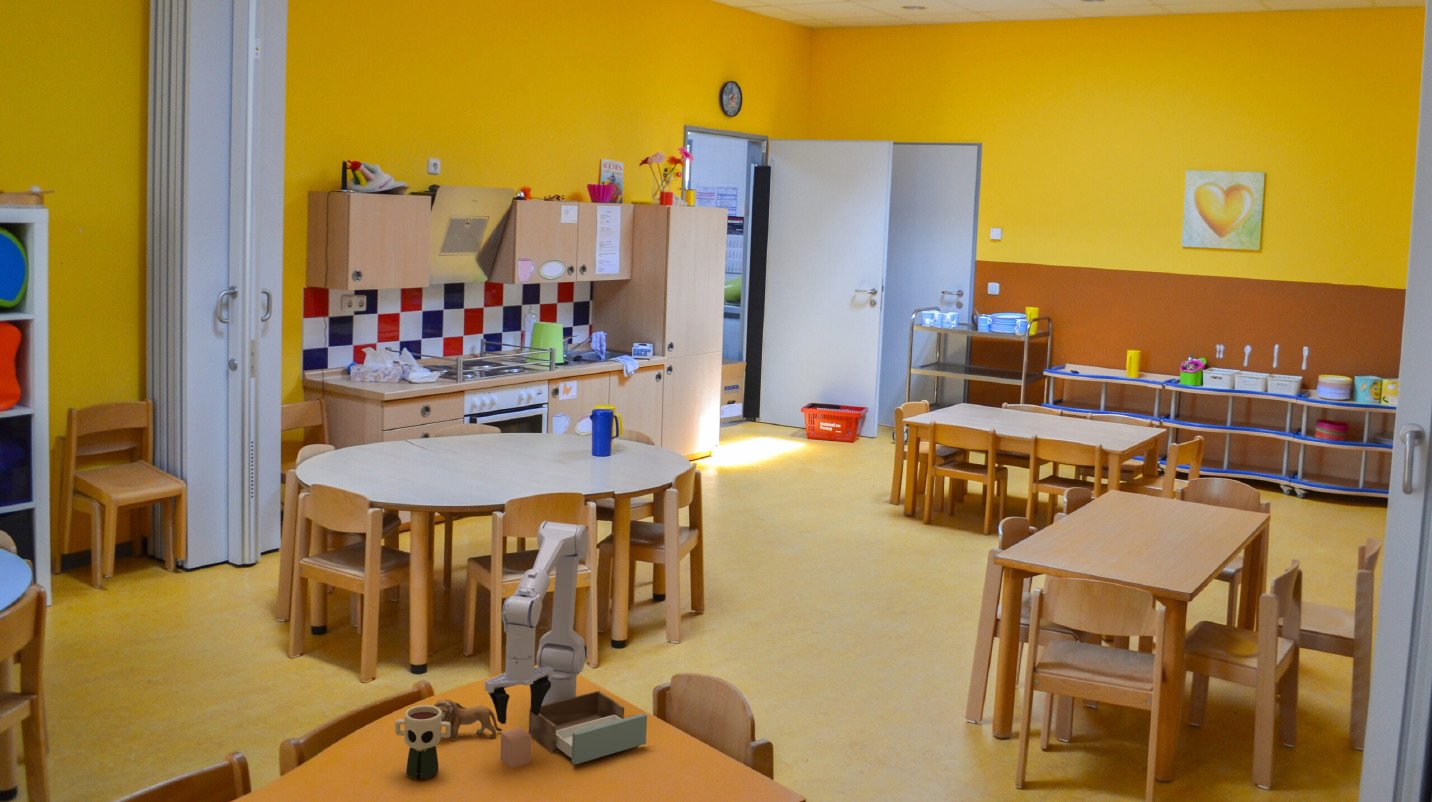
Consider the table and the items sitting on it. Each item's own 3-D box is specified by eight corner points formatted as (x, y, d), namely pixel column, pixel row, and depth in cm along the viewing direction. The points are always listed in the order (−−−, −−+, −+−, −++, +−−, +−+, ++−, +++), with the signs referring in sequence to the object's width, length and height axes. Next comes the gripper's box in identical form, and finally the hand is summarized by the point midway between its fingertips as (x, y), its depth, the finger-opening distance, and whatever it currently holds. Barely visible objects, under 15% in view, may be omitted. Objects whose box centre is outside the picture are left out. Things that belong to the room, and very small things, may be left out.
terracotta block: (500, 759, 241) (501, 732, 240) (519, 754, 244) (520, 727, 243) (511, 768, 238) (511, 740, 237) (530, 763, 241) (531, 735, 240)
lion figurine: (435, 746, 245) (435, 706, 244) (430, 735, 250) (431, 695, 248) (504, 737, 251) (506, 697, 249) (499, 727, 256) (500, 688, 254)
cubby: (528, 734, 253) (529, 708, 252) (597, 716, 264) (598, 690, 263) (552, 753, 245) (553, 725, 244) (623, 733, 256) (624, 707, 255)
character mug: (389, 781, 230) (390, 718, 228) (399, 763, 237) (400, 703, 235) (445, 784, 230) (447, 721, 228) (453, 766, 237) (455, 705, 235)
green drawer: (547, 744, 247) (548, 715, 246) (617, 724, 258) (619, 697, 256) (574, 764, 238) (575, 734, 237) (645, 743, 249) (647, 715, 248)
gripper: (497, 668, 229) (495, 733, 232) (561, 653, 238) (559, 716, 241) (480, 656, 235) (479, 720, 237) (543, 642, 244) (541, 704, 246)
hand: (518, 717), depth 239 cm, fingers open, 7 cm apart
